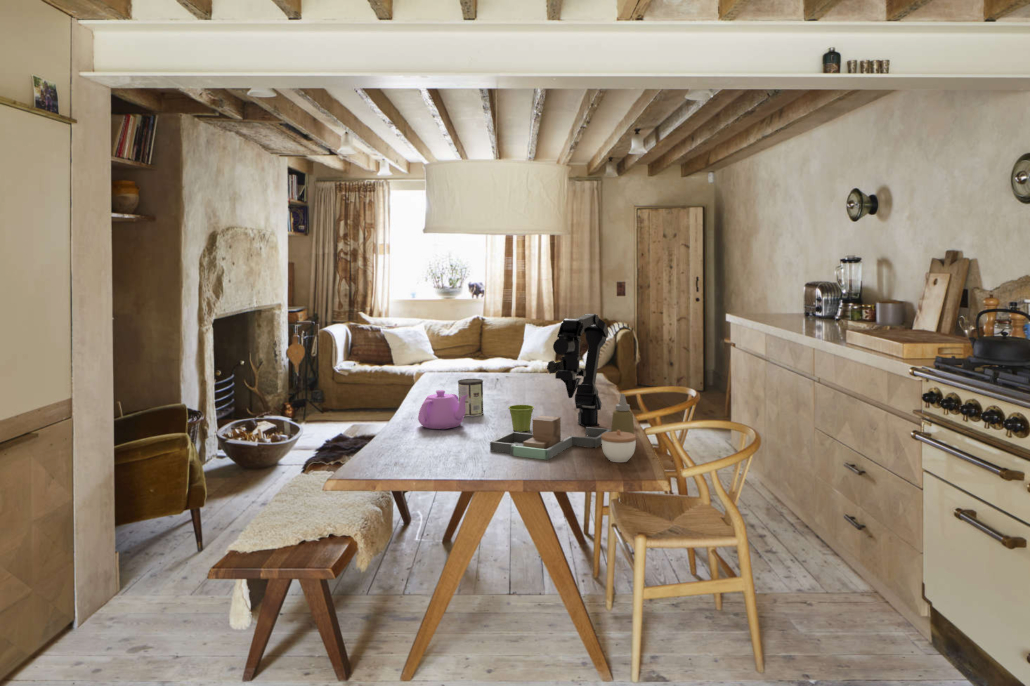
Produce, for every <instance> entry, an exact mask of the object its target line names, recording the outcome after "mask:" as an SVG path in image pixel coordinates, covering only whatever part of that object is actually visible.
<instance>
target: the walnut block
mask: <svg viewBox="0 0 1030 686" xmlns="http://www.w3.org/2000/svg"><path fill="white" fill-rule="evenodd" d="M561 419H562V418H561V416H551V415H539V416H537V417H535V418H533V419H532V434H533V437H532V438H530V439H528V440H526V441H524V442H523V447H531V448H540V449H548V448H550V447H551V446H553V445H555V444H557V443H559V442H560V441H562V440H561V433H562V432H561V431H562V429H561V428H562V427H561Z"/></svg>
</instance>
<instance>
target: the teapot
mask: <svg viewBox="0 0 1030 686" xmlns="http://www.w3.org/2000/svg"><path fill="white" fill-rule="evenodd" d="M467 396H468V395H465V396H462V397H461V398H460V402H459V395H457V394H454V393H450V394H449V393H446V390H445V389H439V390H436V391H435V393H434V394H429V395H427V396H426V397H425V399H424V401H423V402H422V404H421V406H420V408H419V411H418V418H417V420H418V422H419V423H420V425H421V426H422V427H423V428H426V429H432V430H440V429H444V430H447V429H453V428H456V427H457V428H458V427H459V426H460V425H461V424H462V423H463V421H464V419H465V416H464V415H465V412H466V408H465V399H466V397H467Z"/></svg>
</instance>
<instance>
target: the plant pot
mask: <svg viewBox="0 0 1030 686" xmlns="http://www.w3.org/2000/svg"><path fill="white" fill-rule="evenodd" d="M534 409H535V406H533V405H529V404H514V405H510V406H508V410H509V413H510V417H511V424H512V430H513V431H514V432H517V431H519V433H523V432H522V431H524V432H525V431H526V432H529V431H530V429H531V421H532V414H533V412H534Z"/></svg>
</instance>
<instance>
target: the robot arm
mask: <svg viewBox="0 0 1030 686" xmlns="http://www.w3.org/2000/svg"><path fill="white" fill-rule="evenodd" d="M583 333H584V335H585V337H584V338H585V340H586V343H587V352H586V359H585V365H584V368H580V361H581V360H582V356H580V355H581V352H580V351H581V342H582V339H581V337H582V335H583ZM556 336H557V339H556V340H555V341H554V342H553V345H552V347H553V348H552V349H553V351H554V352H555V354H557V355H559V356H561V358H560V361H557V362H556V361H555V360H551V361H548V362H547V365H546V370H547V371H548V373H549V374H555V376H554V377H555V379H556V380H557V379H558V380H561V381H562V382H563V383H564V385H565V387H566V388H565V389H566V392H567V396H568V399H572V398H573V397H574V402H575V403H574V404H575V409H577V410H579V412H578V413H577V416H578V419H577V424H578V423H579V424H578V425H580V424H581V426H582V425H583V426H582V427H594V426H595V425H597V426H600V423H598V421H599V419H598V416H599V415H598V412H599V410H600V411H601V409H602V401H601V398H600V396H599V390H598V387H597V386H596V380H597V373H598V367H599V361H600V353H601V349H602V347H603V346H604V345H605V344H606V341H607V337H609V328H608V326H607V324H606V322H605V321H604V320H603V319H601V318H600V317H599V315H598V314H596V313H586V314H583V315H582V316H579V317H577V318H564V319H563V320H562V322H561V323H560V326H559V329H558V332H557V335H556ZM581 377H583V379H582V378H581ZM581 380H582V381H581ZM580 382H581V383H580ZM575 392H576V393H575ZM595 427H596V426H595Z"/></svg>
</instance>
